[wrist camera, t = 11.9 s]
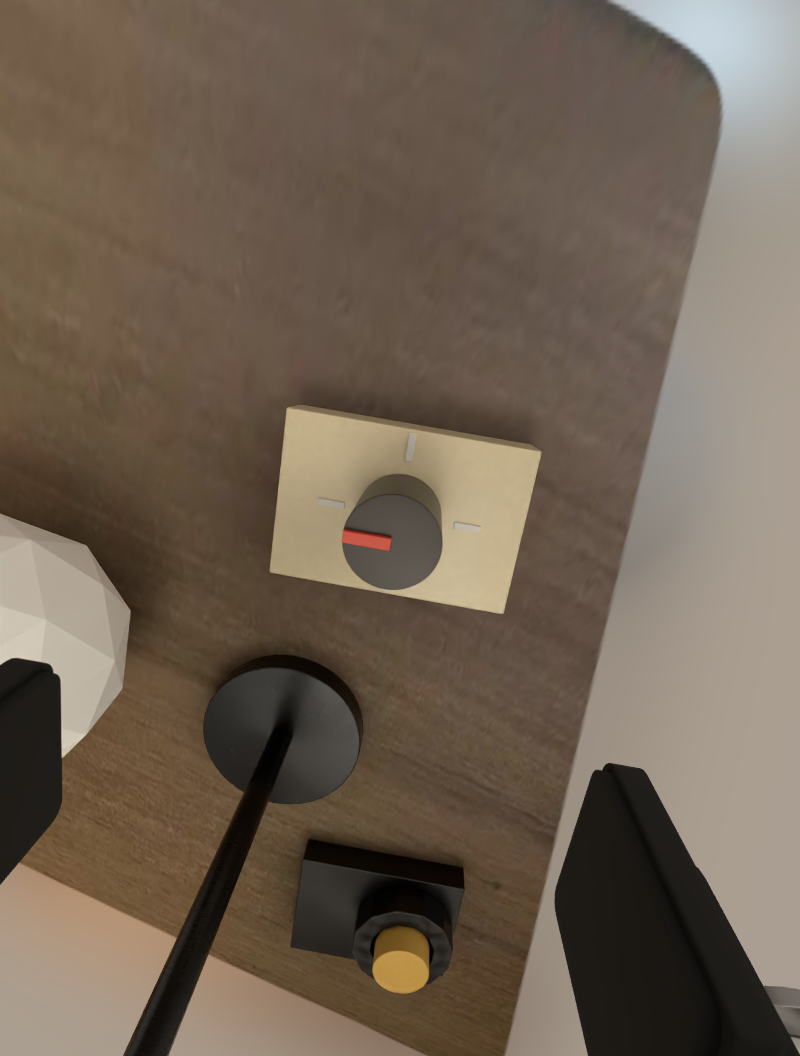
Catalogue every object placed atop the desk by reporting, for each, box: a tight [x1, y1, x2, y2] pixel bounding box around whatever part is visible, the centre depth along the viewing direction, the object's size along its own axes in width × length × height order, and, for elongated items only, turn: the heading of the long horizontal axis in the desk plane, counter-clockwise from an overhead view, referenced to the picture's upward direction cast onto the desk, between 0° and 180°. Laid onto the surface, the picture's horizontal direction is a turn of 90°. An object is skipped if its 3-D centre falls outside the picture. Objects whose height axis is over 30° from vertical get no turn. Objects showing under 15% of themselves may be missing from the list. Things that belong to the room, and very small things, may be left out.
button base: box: [290, 839, 465, 985], centre depth 38 cm, size 11×8×4 cm
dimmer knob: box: [342, 474, 443, 590], centre depth 26 cm, size 4×4×5 cm
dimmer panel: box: [270, 405, 541, 614], centre depth 30 cm, size 13×9×3 cm
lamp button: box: [372, 926, 429, 993], centre depth 36 cm, size 4×4×2 cm
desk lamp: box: [123, 655, 363, 1056], centre depth 23 cm, size 11×11×28 cm
